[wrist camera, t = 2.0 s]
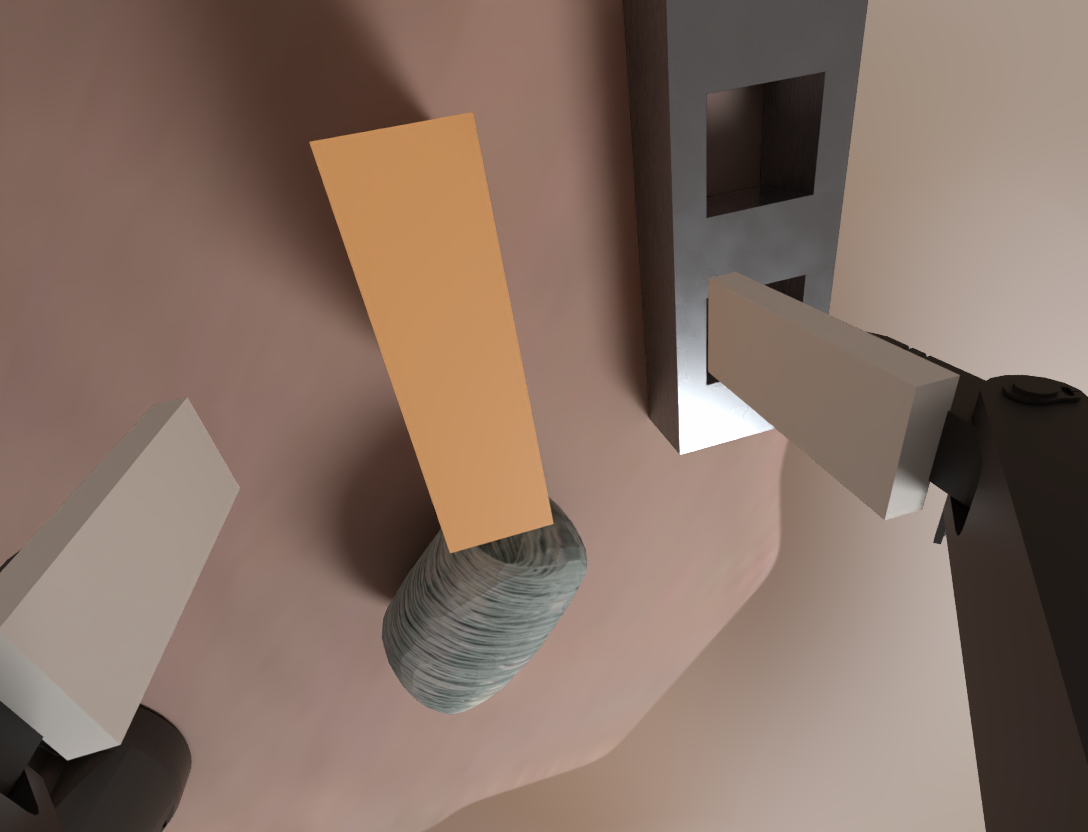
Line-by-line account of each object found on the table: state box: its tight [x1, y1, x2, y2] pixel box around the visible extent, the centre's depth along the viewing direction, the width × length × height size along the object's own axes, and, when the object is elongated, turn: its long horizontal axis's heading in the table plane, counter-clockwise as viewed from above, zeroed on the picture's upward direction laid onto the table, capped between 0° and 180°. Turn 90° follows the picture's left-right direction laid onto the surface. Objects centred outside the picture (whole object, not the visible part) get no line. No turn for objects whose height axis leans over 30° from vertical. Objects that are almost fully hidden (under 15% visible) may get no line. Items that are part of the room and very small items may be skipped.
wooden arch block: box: [309, 112, 554, 553], centre depth 19 cm, size 4×12×12 cm, turn 9°
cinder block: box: [623, 0, 868, 455], centre depth 25 cm, size 8×20×4 cm, turn 9°
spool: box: [382, 497, 587, 714], centre depth 30 cm, size 14×10×10 cm
